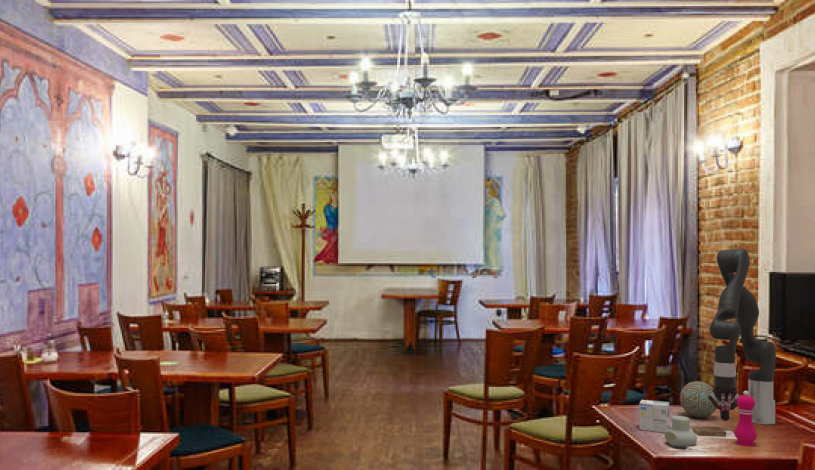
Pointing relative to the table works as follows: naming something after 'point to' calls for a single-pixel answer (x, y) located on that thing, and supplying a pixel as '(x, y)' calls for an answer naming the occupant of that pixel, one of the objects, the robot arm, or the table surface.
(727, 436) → the board
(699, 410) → the decorative sphere
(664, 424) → the light bulb box
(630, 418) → the table surface
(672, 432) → the air freshener
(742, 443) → the pepper mill
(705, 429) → the wooden block
